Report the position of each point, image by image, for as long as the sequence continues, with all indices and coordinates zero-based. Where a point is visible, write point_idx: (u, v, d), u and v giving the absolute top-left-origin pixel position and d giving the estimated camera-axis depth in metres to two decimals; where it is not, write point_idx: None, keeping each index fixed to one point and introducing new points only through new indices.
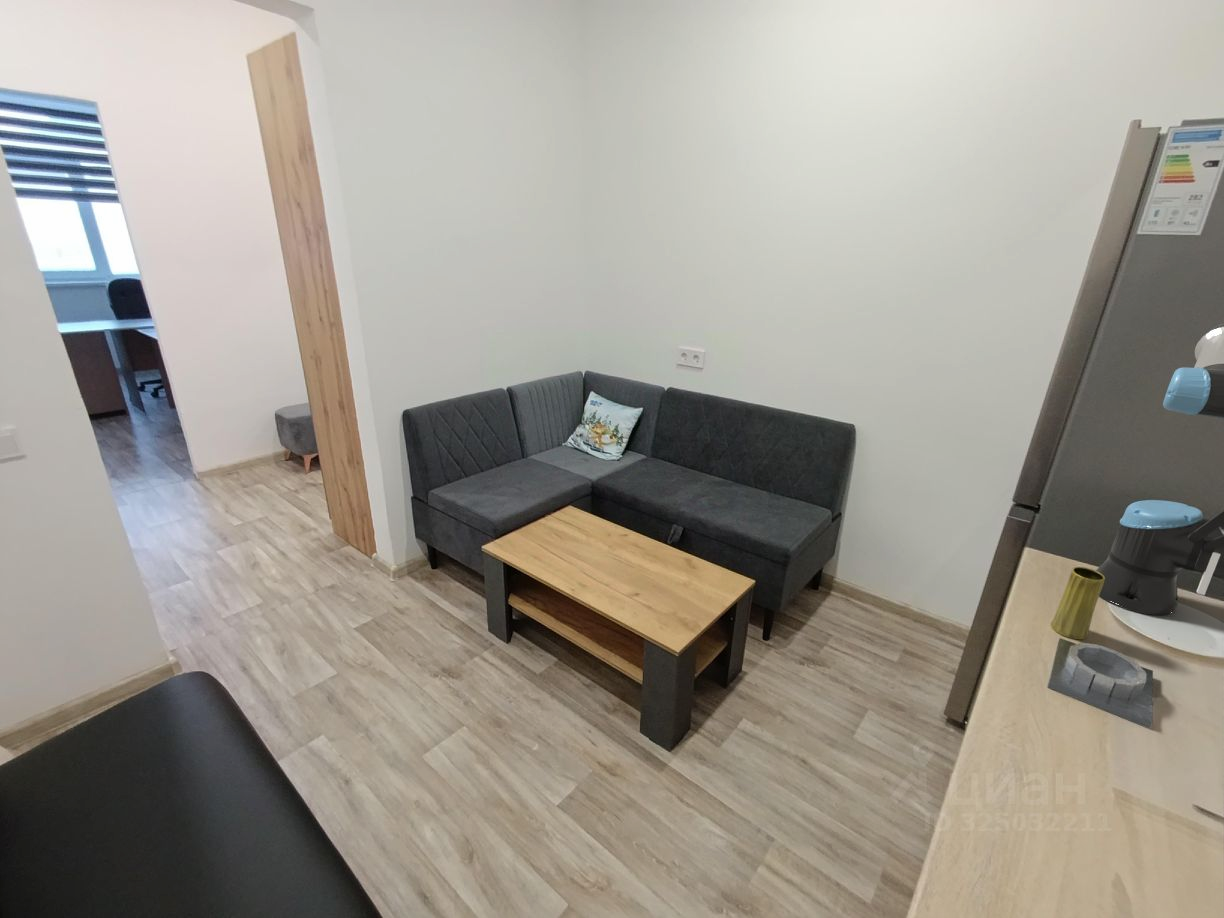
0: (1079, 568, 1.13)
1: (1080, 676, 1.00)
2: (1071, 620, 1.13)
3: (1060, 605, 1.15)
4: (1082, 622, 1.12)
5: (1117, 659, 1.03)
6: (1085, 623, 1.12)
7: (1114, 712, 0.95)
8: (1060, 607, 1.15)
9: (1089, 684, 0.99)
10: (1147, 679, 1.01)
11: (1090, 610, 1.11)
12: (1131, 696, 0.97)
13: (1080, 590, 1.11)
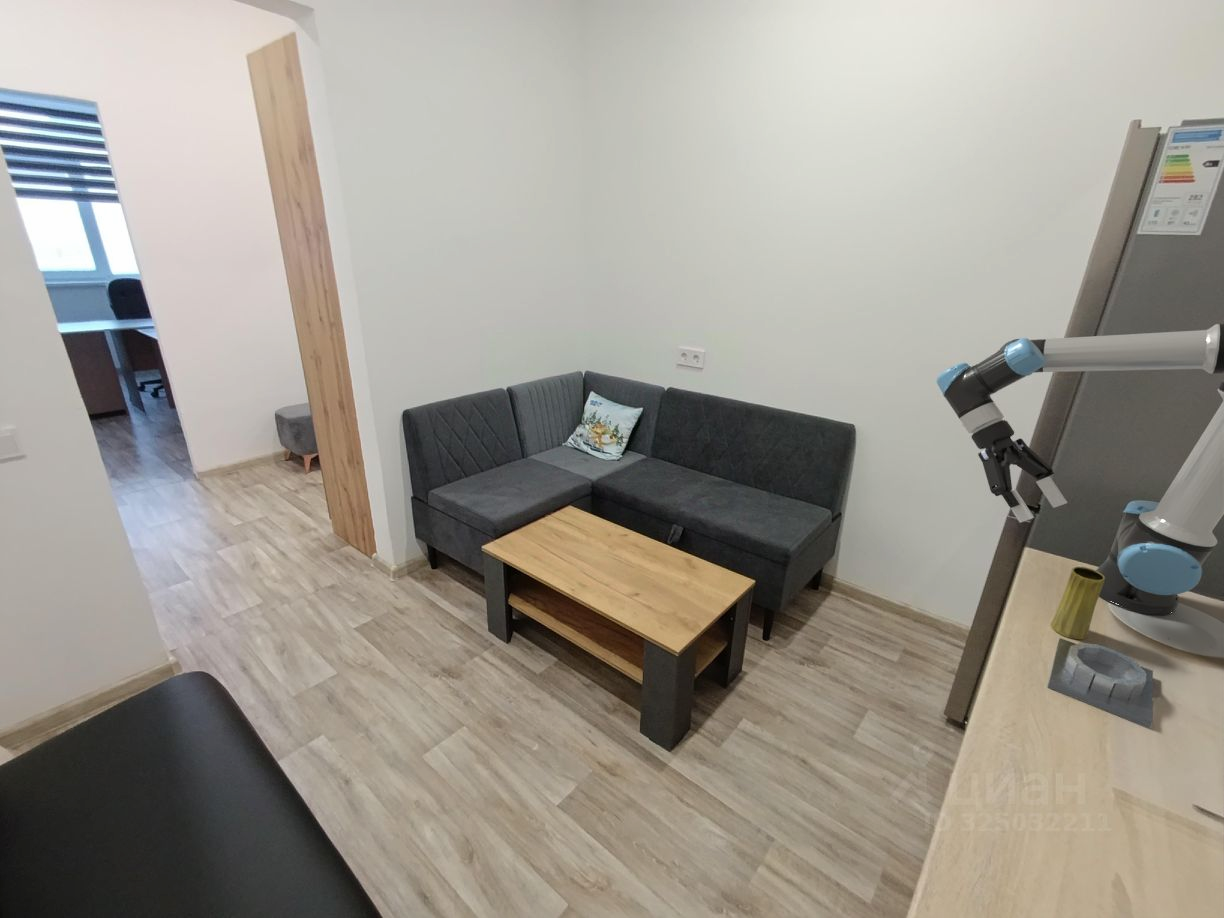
0: (1079, 568, 1.13)
1: (1080, 676, 1.00)
2: (1071, 620, 1.13)
3: (1060, 605, 1.15)
4: (1082, 622, 1.12)
5: (1117, 659, 1.03)
6: (1085, 623, 1.12)
7: (1114, 712, 0.95)
8: (1060, 607, 1.15)
9: (1089, 684, 0.99)
10: (1147, 679, 1.01)
11: (1090, 610, 1.11)
12: (1131, 696, 0.97)
13: (1080, 590, 1.11)
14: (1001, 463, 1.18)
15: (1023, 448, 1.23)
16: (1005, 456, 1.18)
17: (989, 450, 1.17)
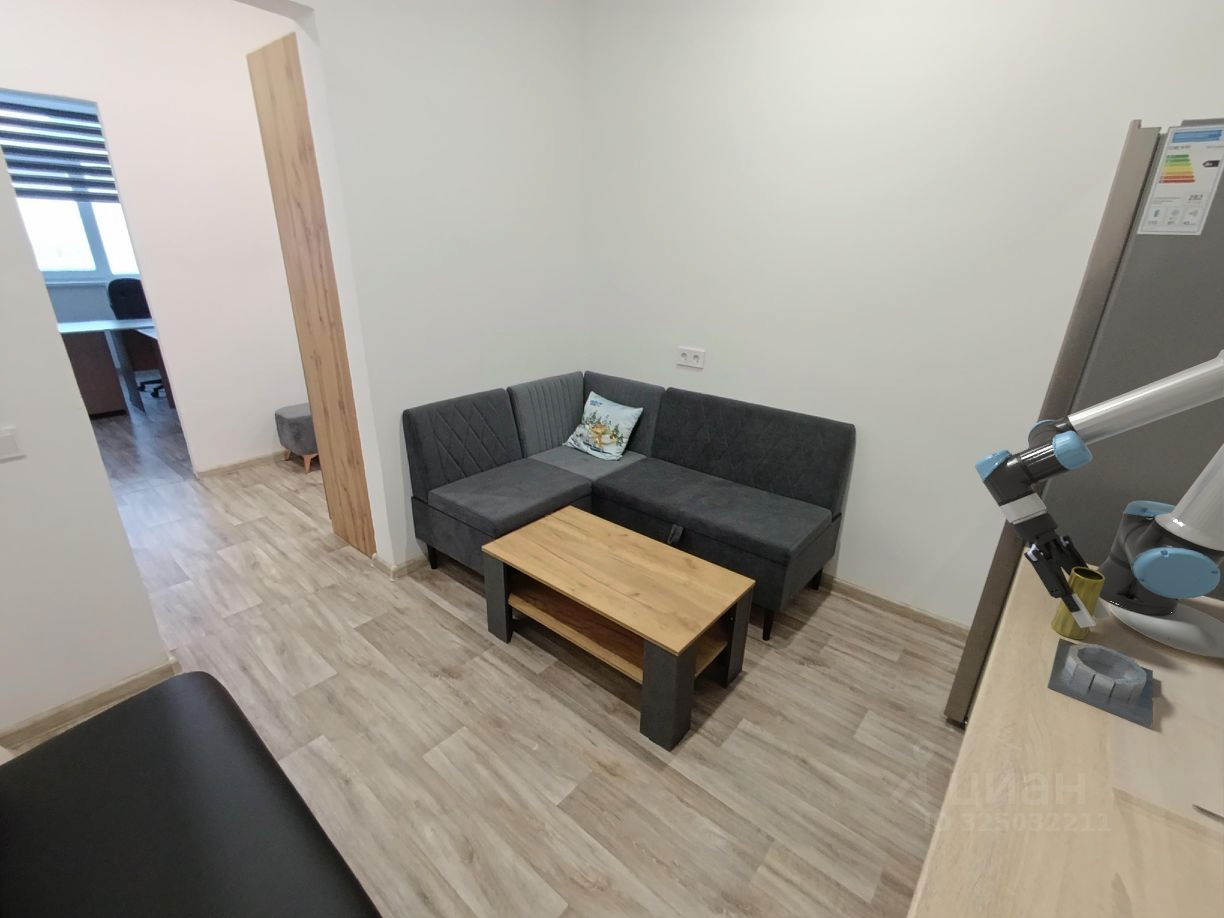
0: (1079, 568, 1.13)
1: (1080, 676, 1.00)
2: (1071, 620, 1.13)
3: (1060, 605, 1.15)
4: None
5: (1117, 659, 1.03)
6: None
7: (1114, 712, 0.95)
8: (1060, 607, 1.15)
9: (1089, 684, 0.99)
10: (1147, 679, 1.01)
11: (1090, 610, 1.11)
12: (1131, 696, 0.97)
13: (1080, 590, 1.11)
14: (1050, 562, 1.14)
15: (1068, 545, 1.18)
16: (1052, 554, 1.14)
17: (1036, 552, 1.13)
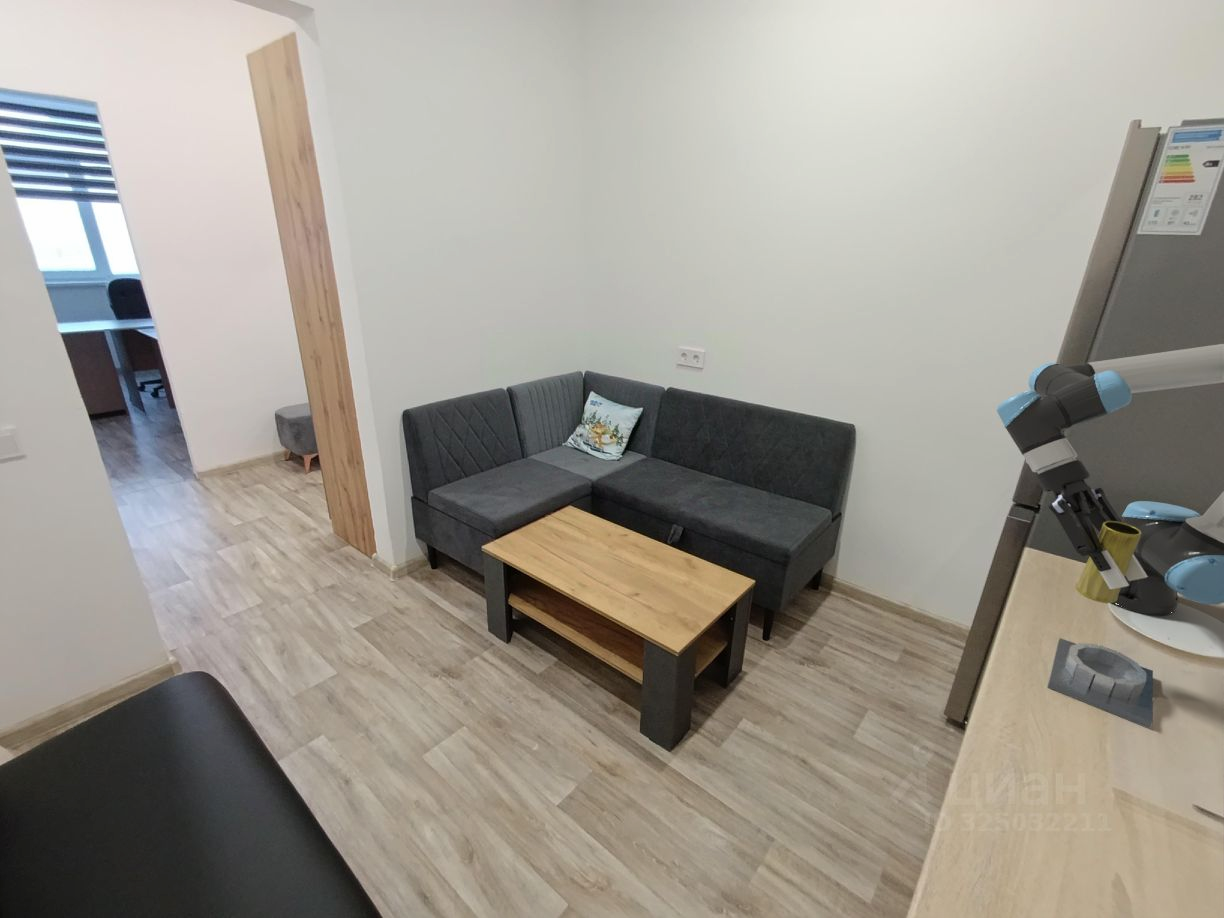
0: (1111, 522, 1.00)
1: (1080, 676, 1.00)
2: (1099, 581, 1.00)
3: (1087, 564, 1.02)
4: None
5: (1117, 659, 1.03)
6: None
7: (1114, 712, 0.95)
8: (1087, 567, 1.02)
9: (1089, 684, 0.99)
10: (1147, 679, 1.01)
11: (1122, 569, 0.98)
12: (1131, 696, 0.97)
13: (1111, 546, 0.97)
14: (1079, 515, 1.01)
15: (1100, 499, 1.04)
16: (1081, 506, 1.00)
17: (1063, 503, 1.00)
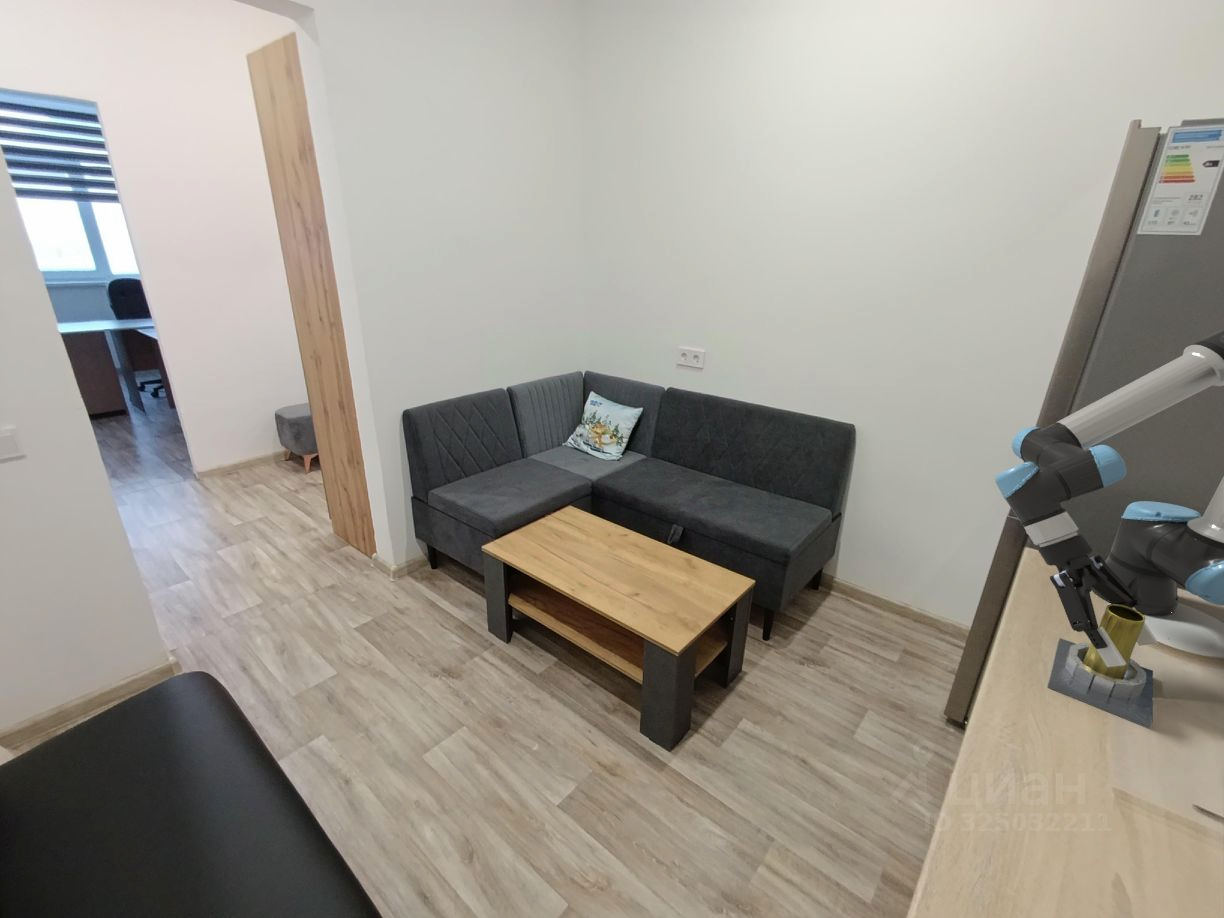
0: (1114, 606, 0.99)
1: (1080, 676, 1.00)
2: (1104, 665, 0.99)
3: (1091, 647, 1.01)
4: (1117, 668, 0.98)
5: None
6: (1121, 669, 0.98)
7: (1114, 712, 0.95)
8: (1091, 649, 1.01)
9: (1089, 684, 0.99)
10: (1147, 679, 1.01)
11: (1127, 655, 0.97)
12: (1131, 696, 0.97)
13: (1116, 631, 0.97)
14: (1079, 589, 0.99)
15: (1102, 567, 1.04)
16: (1083, 581, 0.99)
17: (1064, 576, 0.99)
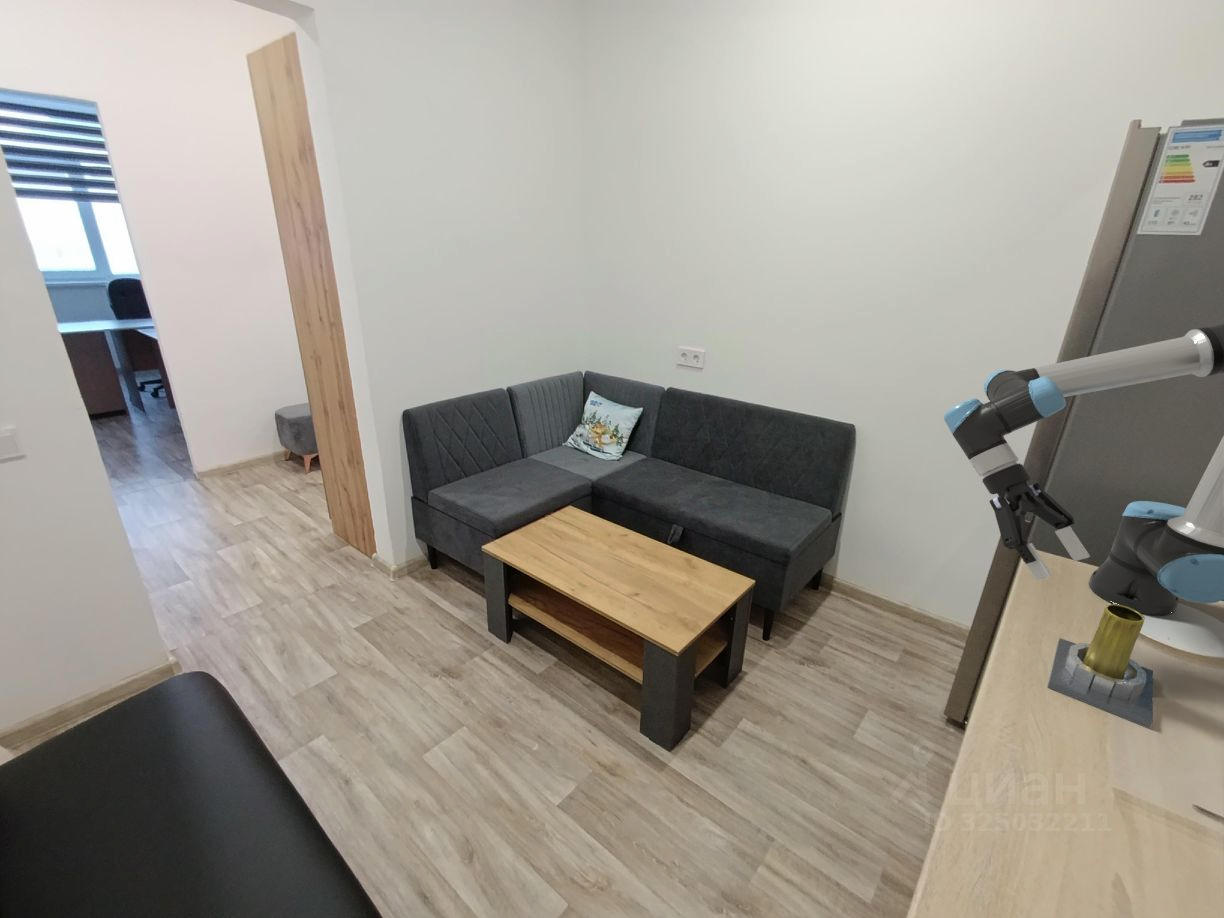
0: (1113, 606, 0.99)
1: (1080, 676, 1.00)
2: (1104, 665, 0.99)
3: (1091, 647, 1.01)
4: (1117, 668, 0.98)
5: None
6: (1120, 669, 0.98)
7: (1114, 712, 0.95)
8: (1091, 649, 1.01)
9: (1089, 684, 0.99)
10: (1147, 679, 1.01)
11: (1127, 655, 0.97)
12: (1131, 696, 0.97)
13: (1115, 631, 0.97)
14: (1016, 512, 1.06)
15: (1040, 494, 1.11)
16: (1020, 504, 1.06)
17: (1002, 498, 1.06)
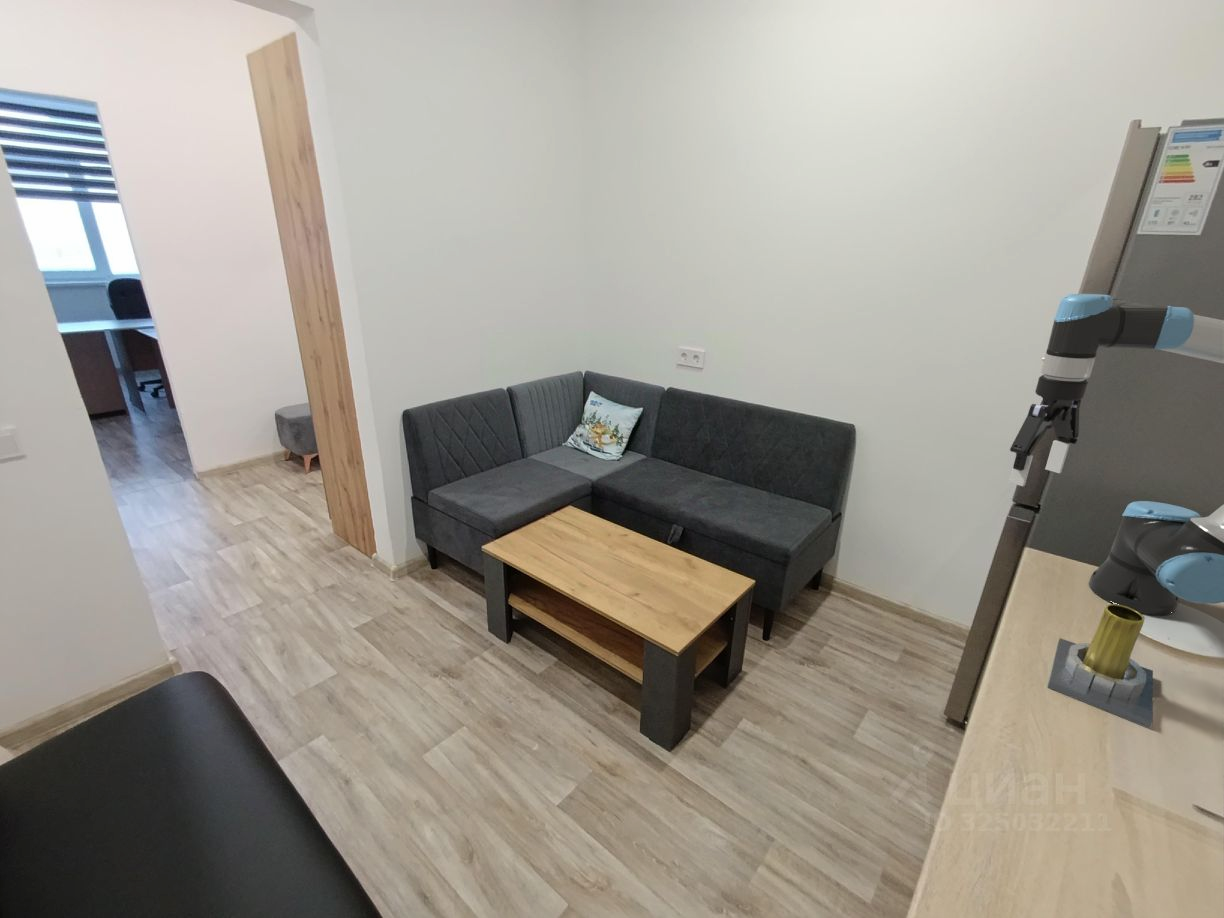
0: (1113, 606, 0.99)
1: (1080, 676, 1.00)
2: (1104, 665, 0.99)
3: (1091, 647, 1.01)
4: (1117, 668, 0.98)
5: None
6: (1120, 669, 0.98)
7: (1114, 712, 0.95)
8: (1091, 649, 1.01)
9: (1089, 684, 0.99)
10: (1147, 679, 1.01)
11: (1127, 655, 0.97)
12: (1131, 696, 0.97)
13: (1115, 631, 0.97)
14: (1043, 423, 1.07)
15: (1073, 409, 1.10)
16: (1052, 418, 1.06)
17: (1045, 409, 1.04)
